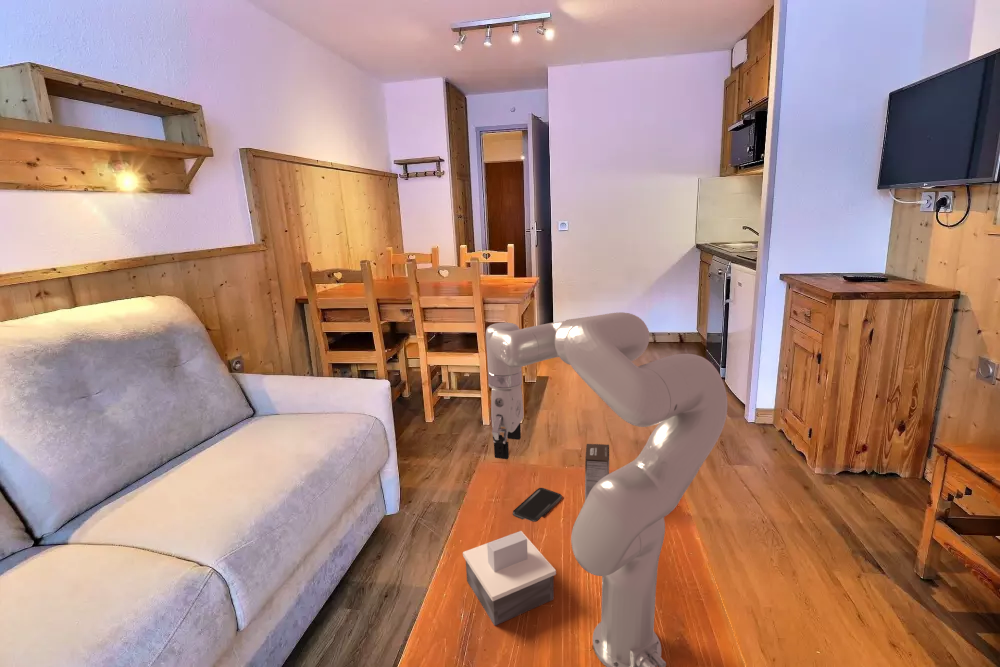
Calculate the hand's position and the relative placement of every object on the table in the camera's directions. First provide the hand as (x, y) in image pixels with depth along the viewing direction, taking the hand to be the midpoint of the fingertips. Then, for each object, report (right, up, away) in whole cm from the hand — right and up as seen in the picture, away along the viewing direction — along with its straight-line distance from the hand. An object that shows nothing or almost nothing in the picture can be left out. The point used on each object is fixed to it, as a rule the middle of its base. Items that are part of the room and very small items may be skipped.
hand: (508, 448), depth 114 cm
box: (0, -30, -6) cm, 31 cm away
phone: (+9, -22, +24) cm, 34 cm away
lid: (0, -23, -8) cm, 25 cm away
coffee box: (+25, -21, +24) cm, 41 cm away
